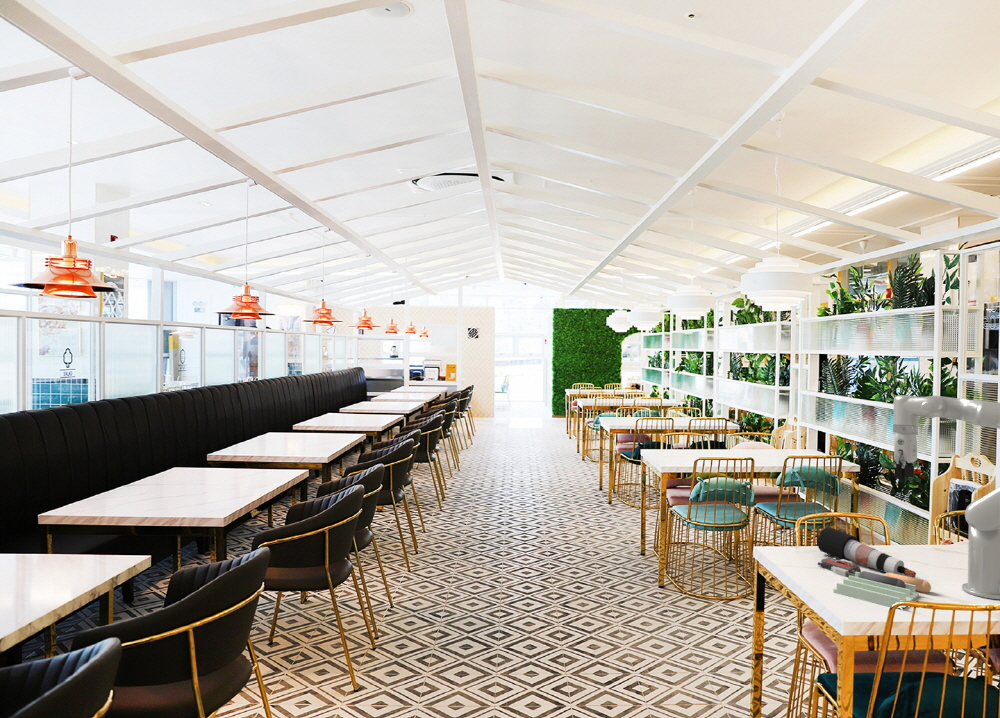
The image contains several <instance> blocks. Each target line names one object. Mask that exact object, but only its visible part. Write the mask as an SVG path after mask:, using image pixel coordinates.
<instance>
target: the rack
mask: <svg viewBox="0 0 1000 718" xmlns="http://www.w3.org/2000/svg"><path fill="white" fill-rule="evenodd" d="M859 573H860V572H855V577H854V576H848V579H847V578H843V582H842V583H840V582H837V583H836V587H835V588H833V589H832V590H833V593H835V594H838V595H842V596H846V597H850V598H853V599H859V600H861V601H866V602H870V603H874V604H878V605H880V606H886V607H889V608H891V607H890V606H892V605H893V604H895V603H896V602H899V601H913V602H914V601H915V600H916V599H917V598H918V597H920V593H919V592H918V591H916V585H912V584H907V583H905V585H906V588H901V587H896V586H892V585H888V584H884V583H880V582H875V581H871V580H867V579H863V578H858V575H859ZM901 608H902V609H903V608H905V607H901ZM905 609H906V608H905ZM903 610H904V609H903Z"/></svg>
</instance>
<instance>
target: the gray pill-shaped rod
mask: <svg viewBox="0 0 1000 718" xmlns="http://www.w3.org/2000/svg"><path fill="white" fill-rule="evenodd" d="M858 578H863V579H867V580H871V581H875V582H880V583H884V584H888V585H892V586H896V587H901V588H906V585H905V583H904V581H902V580H901V579H897V578H892V577H888V576H884V574H883V575H882V574H879V573H874V572H870V571H865V570H862V571H861V572H860V573H859V575H858Z"/></svg>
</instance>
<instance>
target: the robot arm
mask: <svg viewBox="0 0 1000 718" xmlns="http://www.w3.org/2000/svg"><path fill="white" fill-rule="evenodd" d="M892 414H893V419H892V421H893V424H892V430H893V431H892V434H894V435H895V436H894V447H893V456H894V457H893V459H894V476H893V477H894V479H895V480H901V481H906V477H909V478H911V477H912V478H913V477H915V462H916V461H917V460H918V444H917V443H918V441H917V440H918V439H917V436H918V433H919V417H921V418H926V419H933V418H943V419H944V418H945V419H951V420H958V421H964V422H967V423H970V424H972V425H974V426H979V427H985V428H993V429H999V430H1000V402H995V401H987V400H981V399H980V400H979V399H967V398H966V399H965V398H960V397H959V398H956V397H950V396H943V395H942V396H940V395H930V396H929V395H928V396H915V395H906V394H905V395H902V394H901V395H900V394H899V395H896V396H894V398H893V413H892ZM964 517H965V518H964V519H965V521H966V522H967V524H968V545H967V548H968V550H967V552H968V553H967V583H962V584H961V589H962V591H964V592H966V593H967V594H970V595H972V596H976V597H980V598H984V599H992V600H1000V486H998V487H997V488H995V489H993V490H992V491H991V492H989V493H987V494H985V495H984V496H980V497H978V498H976V499H974V500H972V502H970V503H969V504H968V505H967V506H966V509H965V510H964Z"/></svg>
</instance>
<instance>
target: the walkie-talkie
mask: <svg viewBox="0 0 1000 718" xmlns="http://www.w3.org/2000/svg"><path fill="white" fill-rule="evenodd" d="M817 565H818V566H820V567H821V568H822V569H825V570H829V571H831V572H832V573H834V574H836V575H839V576H842V577H844V578H845V577H849V576H854V577H855V572H862V571H861V567H860V566H858V565H856V564H855V563H854V561H848V560H844V559H837V558H836V557H833V558H831V557H827V558H823V559H821V562H819V561H818V562H817Z"/></svg>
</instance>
